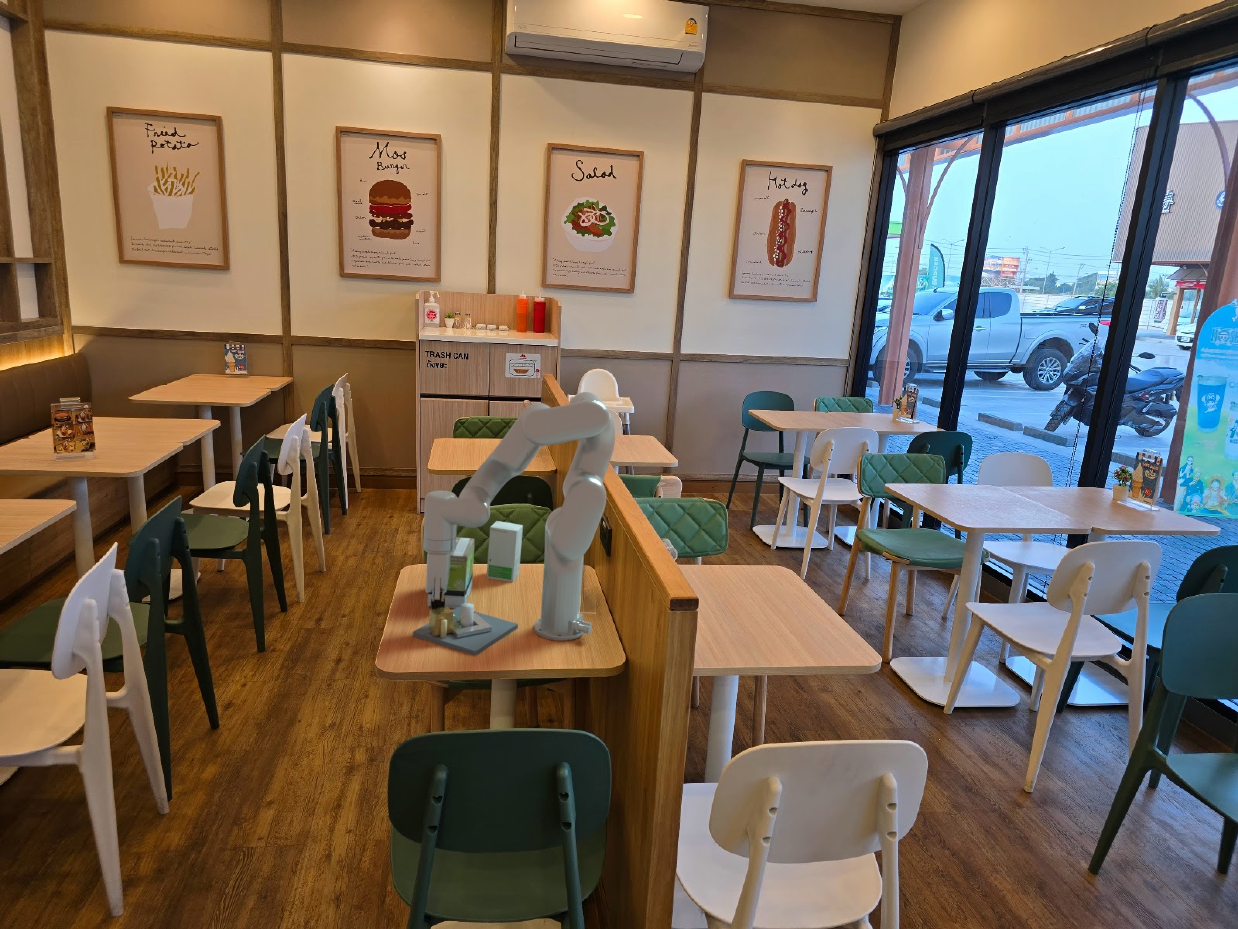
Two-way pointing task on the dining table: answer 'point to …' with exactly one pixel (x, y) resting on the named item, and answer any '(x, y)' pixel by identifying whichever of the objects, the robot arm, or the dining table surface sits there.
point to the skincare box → (504, 551)
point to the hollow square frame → (455, 623)
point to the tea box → (459, 574)
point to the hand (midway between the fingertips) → (437, 614)
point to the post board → (472, 642)
